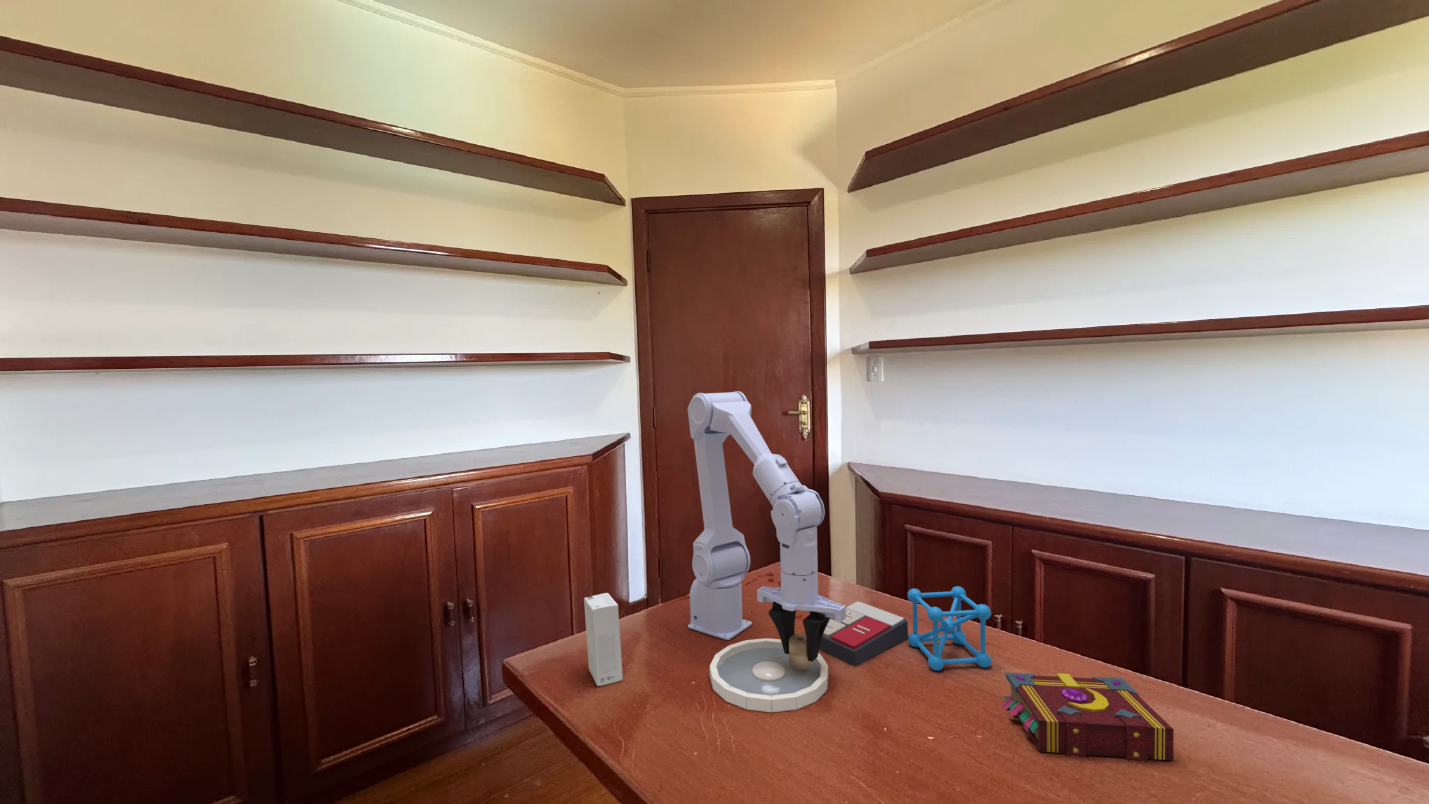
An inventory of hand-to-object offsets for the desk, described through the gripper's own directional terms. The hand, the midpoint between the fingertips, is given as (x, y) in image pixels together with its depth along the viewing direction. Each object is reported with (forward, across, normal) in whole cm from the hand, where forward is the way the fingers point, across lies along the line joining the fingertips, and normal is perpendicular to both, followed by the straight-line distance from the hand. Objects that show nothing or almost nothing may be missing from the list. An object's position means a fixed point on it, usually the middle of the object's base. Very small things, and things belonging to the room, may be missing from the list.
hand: (800, 654), depth 88 cm
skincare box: (+3, -26, -18) cm, 31 cm away
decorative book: (+3, +36, +8) cm, 37 cm away
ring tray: (+3, -4, -4) cm, 6 cm away
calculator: (+4, +3, +15) cm, 16 cm away
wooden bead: (+1, 0, 0) cm, 1 cm away
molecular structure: (+3, +17, +18) cm, 25 cm away
